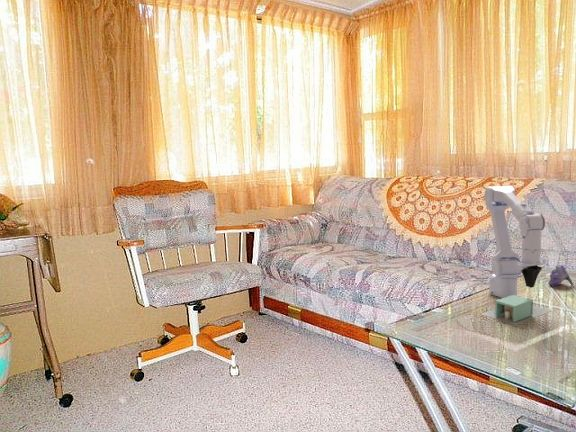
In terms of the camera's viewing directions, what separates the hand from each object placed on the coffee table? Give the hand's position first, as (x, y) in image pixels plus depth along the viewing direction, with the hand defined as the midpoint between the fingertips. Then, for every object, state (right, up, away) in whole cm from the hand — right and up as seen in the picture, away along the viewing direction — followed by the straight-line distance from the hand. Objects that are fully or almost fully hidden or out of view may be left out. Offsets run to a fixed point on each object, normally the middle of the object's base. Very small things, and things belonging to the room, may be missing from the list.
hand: (530, 286), depth 164 cm
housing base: (-5, -10, 0) cm, 11 cm away
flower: (+29, -4, +32) cm, 43 cm away
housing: (-7, -9, -3) cm, 12 cm away
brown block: (-8, -10, -4) cm, 13 cm away
